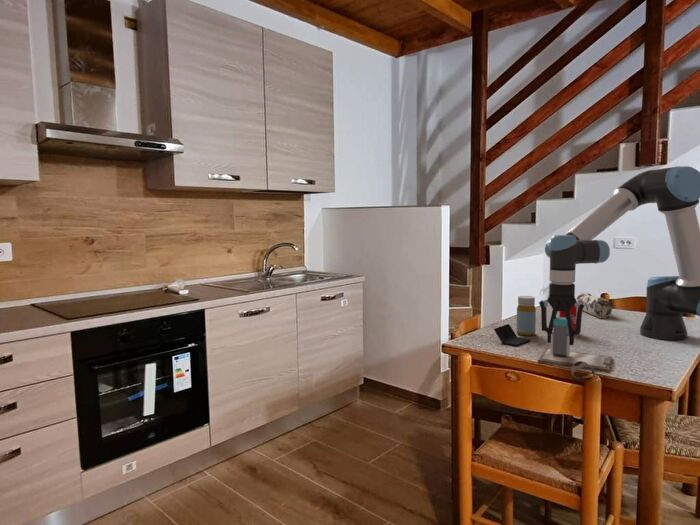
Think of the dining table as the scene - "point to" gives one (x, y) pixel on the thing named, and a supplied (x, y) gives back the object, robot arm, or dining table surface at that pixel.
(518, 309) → the bottle
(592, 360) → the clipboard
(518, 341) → the handheld gaming console
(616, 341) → the dining table surface
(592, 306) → the pencil case
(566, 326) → the teal and grey block
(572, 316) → the beverage can
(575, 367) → the wristwatch
